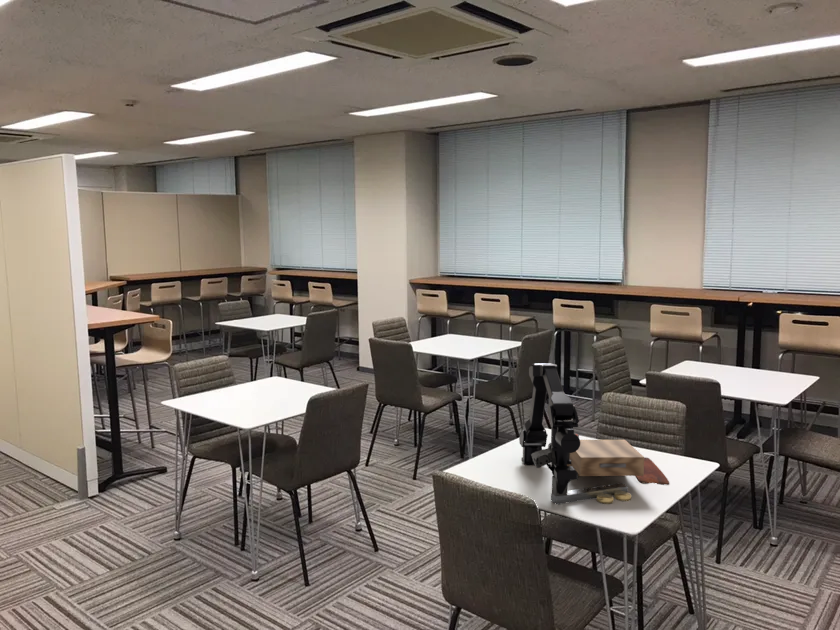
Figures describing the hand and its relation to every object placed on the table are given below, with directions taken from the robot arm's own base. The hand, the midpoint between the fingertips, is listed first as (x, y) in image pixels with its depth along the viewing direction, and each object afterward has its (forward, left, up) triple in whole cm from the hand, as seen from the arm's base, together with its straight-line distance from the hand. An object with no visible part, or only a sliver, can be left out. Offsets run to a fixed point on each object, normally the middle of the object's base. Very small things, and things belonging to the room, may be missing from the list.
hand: (559, 491), depth 200 cm
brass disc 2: (+21, +2, -3) cm, 21 cm away
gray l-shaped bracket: (+11, +3, -3) cm, 12 cm away
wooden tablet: (+37, +27, -4) cm, 46 cm away
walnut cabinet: (+18, +14, -3) cm, 23 cm away
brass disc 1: (+14, 0, -3) cm, 15 cm away
